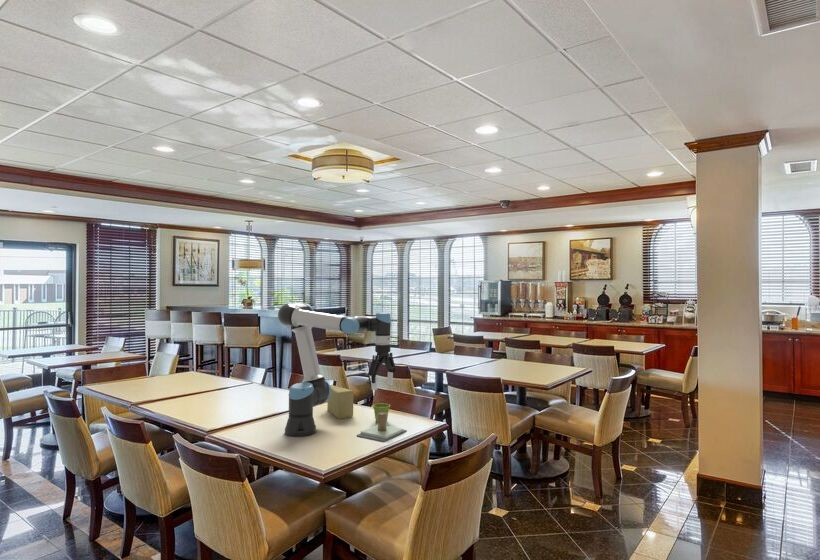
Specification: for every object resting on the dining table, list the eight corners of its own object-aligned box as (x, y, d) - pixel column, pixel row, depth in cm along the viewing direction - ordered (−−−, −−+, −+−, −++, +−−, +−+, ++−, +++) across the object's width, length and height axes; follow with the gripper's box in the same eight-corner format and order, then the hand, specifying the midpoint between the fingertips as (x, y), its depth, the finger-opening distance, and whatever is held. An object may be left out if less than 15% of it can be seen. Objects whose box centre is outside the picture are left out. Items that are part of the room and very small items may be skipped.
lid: (386, 439, 222) (386, 419, 222) (360, 433, 229) (360, 414, 230) (403, 431, 234) (403, 412, 235) (378, 426, 242) (378, 408, 242)
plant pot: (372, 419, 258) (372, 403, 259) (389, 419, 259) (390, 403, 259) (372, 424, 249) (372, 407, 249) (390, 423, 250) (390, 407, 250)
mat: (383, 441, 219) (383, 440, 219) (356, 436, 228) (356, 435, 228) (406, 431, 236) (406, 430, 236) (380, 426, 245) (380, 425, 245)
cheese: (320, 411, 276) (321, 385, 276) (335, 408, 281) (336, 383, 282) (338, 419, 258) (338, 391, 258) (353, 416, 263) (354, 389, 264)
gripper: (374, 347, 220) (373, 392, 220) (402, 342, 242) (402, 384, 241) (361, 345, 224) (360, 390, 224) (390, 341, 246) (390, 382, 245)
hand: (382, 387), depth 233 cm, fingers open, 13 cm apart
